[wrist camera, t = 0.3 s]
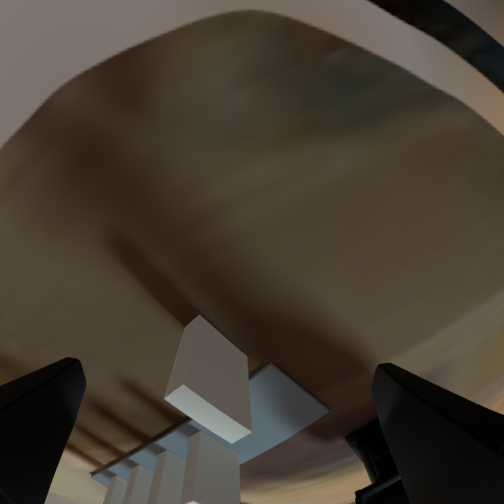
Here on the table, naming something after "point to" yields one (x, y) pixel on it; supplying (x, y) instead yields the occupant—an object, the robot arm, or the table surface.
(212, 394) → the tile
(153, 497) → the tile
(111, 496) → the tile
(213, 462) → the tile
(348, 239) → the table surface
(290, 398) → the runner
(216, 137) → the table surface
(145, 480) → the tile
